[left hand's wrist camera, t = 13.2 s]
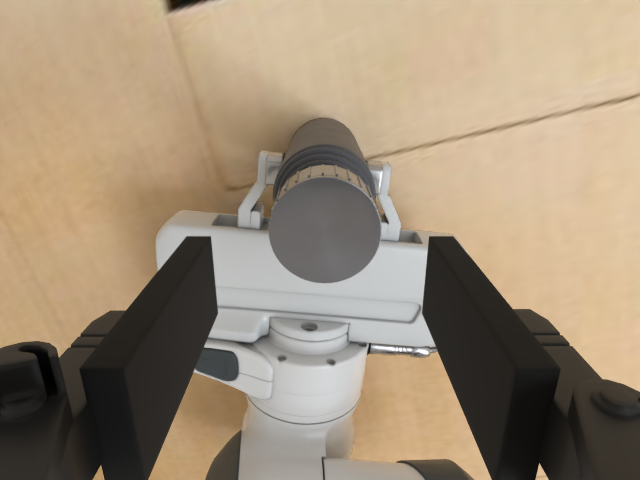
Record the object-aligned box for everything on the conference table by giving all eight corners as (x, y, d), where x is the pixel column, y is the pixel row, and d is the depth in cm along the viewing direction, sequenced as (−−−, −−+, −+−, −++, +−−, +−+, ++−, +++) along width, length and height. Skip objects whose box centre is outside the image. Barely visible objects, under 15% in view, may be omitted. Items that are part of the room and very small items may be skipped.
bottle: (322, 199, 35) (322, 309, 19) (275, 152, 34) (232, 227, 18) (371, 154, 34) (416, 231, 18) (324, 102, 32) (327, 135, 16)
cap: (323, 280, 21) (323, 305, 18) (251, 213, 19) (242, 231, 17) (397, 216, 19) (407, 234, 17) (326, 140, 18) (326, 150, 16)
